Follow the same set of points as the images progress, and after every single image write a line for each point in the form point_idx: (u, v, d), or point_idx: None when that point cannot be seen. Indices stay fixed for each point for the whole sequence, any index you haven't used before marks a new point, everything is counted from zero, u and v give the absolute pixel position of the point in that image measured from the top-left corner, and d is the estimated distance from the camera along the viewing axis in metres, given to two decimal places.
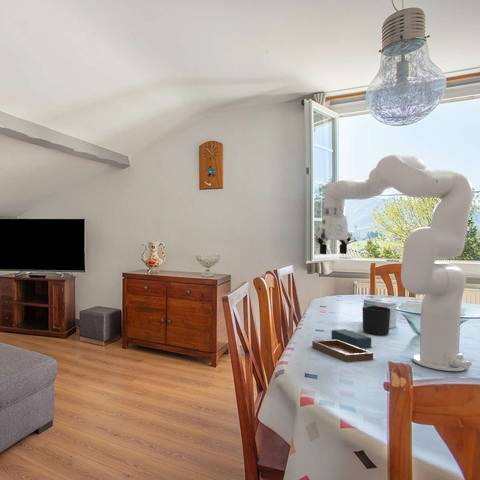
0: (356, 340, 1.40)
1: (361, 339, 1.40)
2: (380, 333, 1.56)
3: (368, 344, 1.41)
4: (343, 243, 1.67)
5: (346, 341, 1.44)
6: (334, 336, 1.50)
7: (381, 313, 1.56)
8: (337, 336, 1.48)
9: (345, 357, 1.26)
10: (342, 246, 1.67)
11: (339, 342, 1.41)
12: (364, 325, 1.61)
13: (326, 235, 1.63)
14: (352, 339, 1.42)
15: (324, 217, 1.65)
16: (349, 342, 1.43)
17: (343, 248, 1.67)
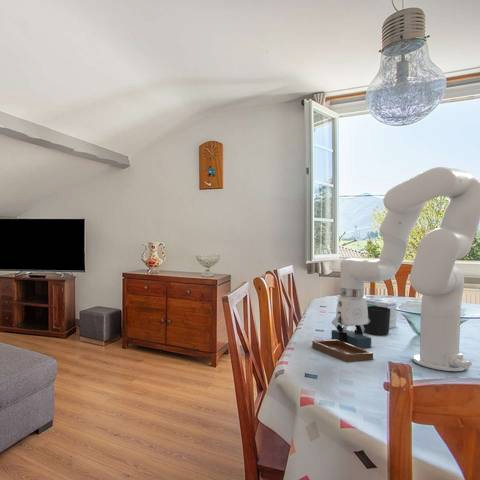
0: (356, 340, 1.40)
1: (361, 339, 1.40)
2: (380, 333, 1.56)
3: (368, 344, 1.41)
4: (358, 330, 1.47)
5: None
6: (334, 336, 1.50)
7: (381, 313, 1.56)
8: (337, 336, 1.48)
9: (345, 357, 1.26)
10: None
11: (339, 342, 1.41)
12: None
13: (343, 320, 1.43)
14: (352, 339, 1.42)
15: (340, 298, 1.45)
16: (349, 342, 1.43)
17: None
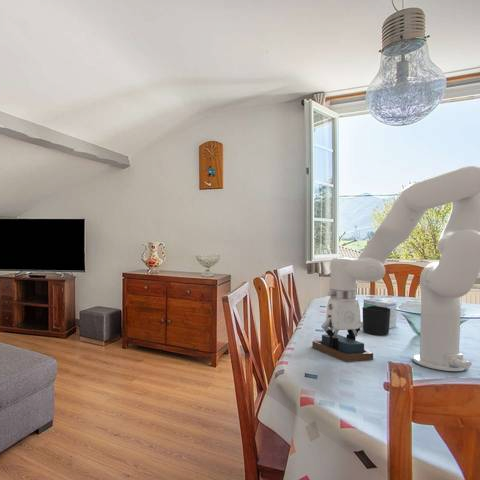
0: (348, 346, 1.28)
1: (353, 345, 1.28)
2: (380, 333, 1.56)
3: (361, 350, 1.29)
4: (351, 334, 1.35)
5: None
6: (324, 341, 1.38)
7: (381, 313, 1.56)
8: (328, 342, 1.37)
9: (345, 357, 1.26)
10: None
11: None
12: (364, 325, 1.61)
13: (333, 324, 1.31)
14: (343, 345, 1.30)
15: (331, 301, 1.33)
16: (340, 348, 1.31)
17: None
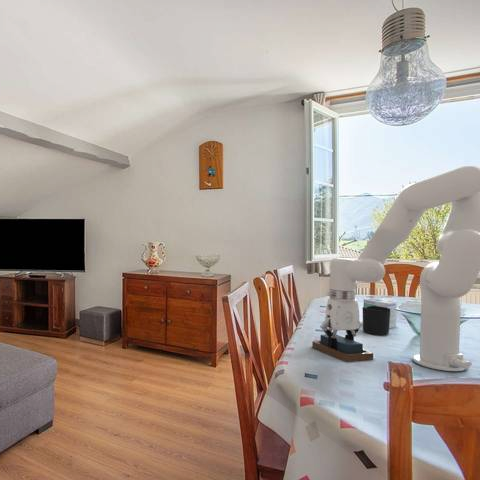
0: (346, 346, 1.29)
1: (351, 345, 1.29)
2: (380, 333, 1.56)
3: (359, 350, 1.29)
4: (349, 335, 1.35)
5: None
6: (323, 341, 1.39)
7: (381, 313, 1.56)
8: (326, 342, 1.37)
9: (345, 357, 1.26)
10: (348, 338, 1.35)
11: None
12: (364, 325, 1.61)
13: (332, 324, 1.32)
14: (341, 346, 1.30)
15: (330, 301, 1.33)
16: (339, 348, 1.32)
17: None
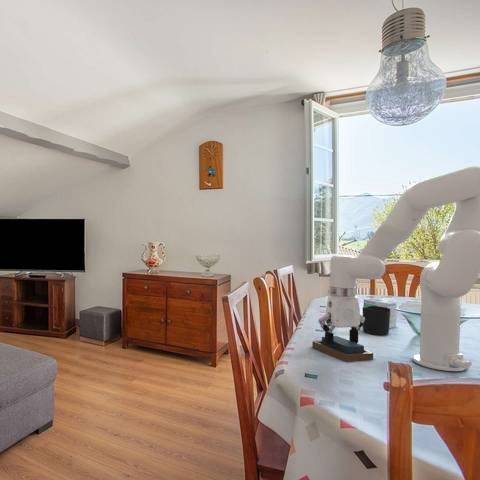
0: (347, 348, 1.28)
1: (353, 347, 1.29)
2: (380, 333, 1.56)
3: (360, 352, 1.29)
4: (354, 329, 1.35)
5: (337, 349, 1.33)
6: (324, 343, 1.38)
7: (381, 313, 1.56)
8: (328, 344, 1.37)
9: (345, 357, 1.26)
10: (352, 333, 1.35)
11: None
12: (364, 325, 1.61)
13: (333, 322, 1.31)
14: (343, 348, 1.30)
15: (330, 298, 1.33)
16: (340, 350, 1.31)
17: (354, 335, 1.35)
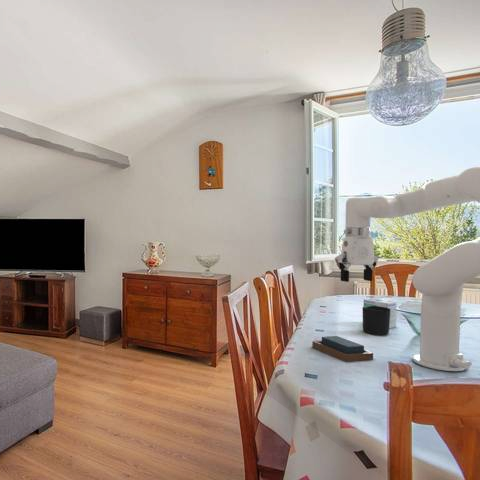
0: (347, 348, 1.28)
1: (353, 347, 1.29)
2: (380, 333, 1.56)
3: (360, 352, 1.29)
4: (368, 268, 1.43)
5: (337, 349, 1.33)
6: (324, 343, 1.38)
7: (381, 313, 1.56)
8: (328, 344, 1.37)
9: (345, 357, 1.26)
10: (367, 272, 1.43)
11: None
12: (364, 325, 1.61)
13: (349, 259, 1.39)
14: (343, 348, 1.30)
15: (346, 238, 1.41)
16: (340, 350, 1.31)
17: (368, 274, 1.43)
